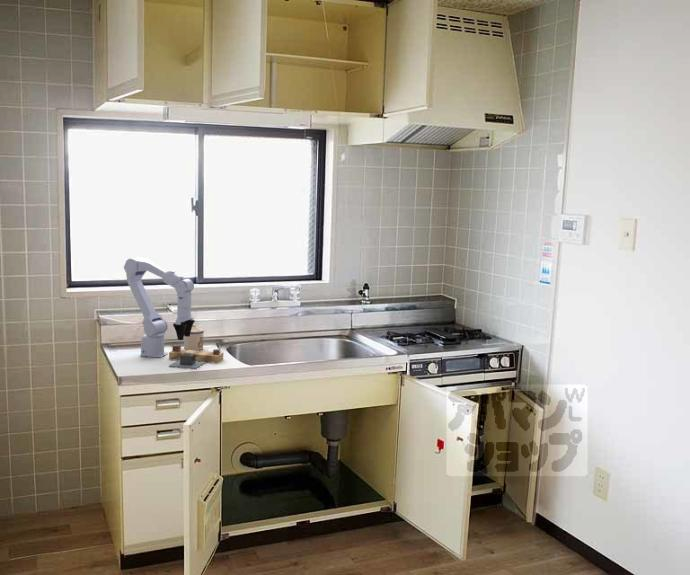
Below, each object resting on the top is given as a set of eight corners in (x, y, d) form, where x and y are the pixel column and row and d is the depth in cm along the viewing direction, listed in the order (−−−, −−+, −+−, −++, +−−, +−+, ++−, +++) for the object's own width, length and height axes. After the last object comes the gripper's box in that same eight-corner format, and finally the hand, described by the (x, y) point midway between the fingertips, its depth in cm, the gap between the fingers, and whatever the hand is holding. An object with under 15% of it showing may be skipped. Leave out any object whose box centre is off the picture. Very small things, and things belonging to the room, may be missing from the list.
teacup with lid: (201, 351, 327) (202, 326, 325) (181, 351, 326) (182, 326, 325) (205, 346, 338) (206, 321, 337) (186, 345, 338) (186, 321, 336)
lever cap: (180, 364, 300) (180, 353, 299) (184, 362, 304) (184, 351, 304) (191, 365, 299) (191, 354, 298) (195, 363, 303) (195, 352, 303)
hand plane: (169, 359, 311) (169, 346, 310) (175, 355, 318) (175, 343, 317) (218, 363, 308) (218, 350, 307) (223, 359, 314) (223, 347, 314)
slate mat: (168, 366, 298) (168, 365, 298) (177, 361, 307) (177, 360, 307) (196, 369, 296) (196, 367, 296) (204, 363, 306) (204, 362, 306)
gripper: (187, 310, 300) (186, 342, 302) (199, 305, 315) (198, 335, 317) (170, 309, 301) (170, 341, 303) (183, 303, 316) (183, 334, 318)
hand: (183, 338), depth 310 cm, fingers open, 7 cm apart
